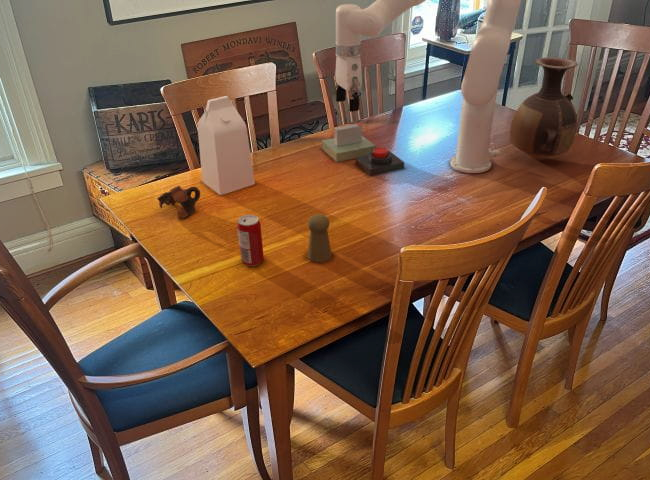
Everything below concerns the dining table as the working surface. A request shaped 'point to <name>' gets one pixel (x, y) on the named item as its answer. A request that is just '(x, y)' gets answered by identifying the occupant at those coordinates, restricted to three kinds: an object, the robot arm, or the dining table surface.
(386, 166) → the button block
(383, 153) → the tap button
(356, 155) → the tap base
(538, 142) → the vase
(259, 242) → the soda can
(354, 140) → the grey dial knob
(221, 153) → the milk
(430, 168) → the dining table surface
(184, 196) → the brown animal figurine
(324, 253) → the brown pawn
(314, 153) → the dining table surface
